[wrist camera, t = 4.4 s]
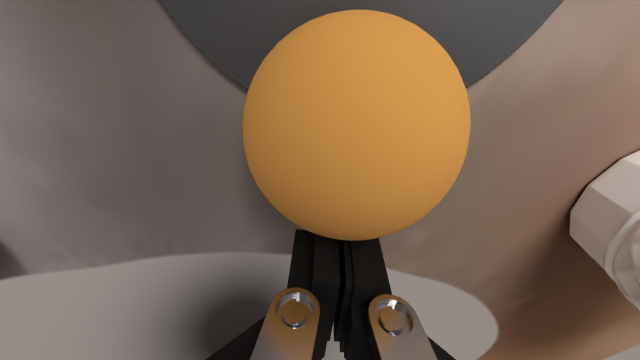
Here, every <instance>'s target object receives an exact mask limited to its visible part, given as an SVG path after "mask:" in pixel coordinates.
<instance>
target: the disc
mask: <svg viewBox="0 0 640 360" xmlns="http://www.w3.org/2000/svg"><path fill="white" fill-rule="evenodd" d="M562 1H563V0H160V2H161V3H162V4H163V6H164V7H165V8H166V10H167V11H168V13H169V14H170V15H171V17H172V18H173V19H174V21H175V22H176V24H177V25H178V26H179V28H180V29H181V30H182V31H183V32H184V33H185V34H186V36H187V37H188V38H189V39H190V40H191V41H192V42H193V43H194V45H195V46H196V47H197V48H198V49H199V50H200V51H201V52H202V53H203V54H204V55H205V56H206V57H207V58H208V59H209V60H210V61H211V62H212V63H214V64H215V65H216V66H217V67H218V68H219V69H220V70H221V71H222V72H223V73H225V74H226V75H227V76H229V77H230V78H232V79H233V80H234V81H236V82H237V83H238V84H240V85H241V86H243V87H244V88H245V89H247V90H249V87H250V85H251V82H252V80H253V78H254V76H255V74H256V72H257V70H258V68H259V67H260V65H261V63H262V62H263V60H264V59H265V57H266V56H267V55H268V54H269V53H270V52H271V50H272V49H273V48H274V47H275V46H276V45H277V43H278V42H280V41H281V40H282V39H283V38H284V37H286V36H287V35H288V34H289V33H290V32H292V31H293V30H295V29H296V28H298V27H300V26H301V25H303V24H305V23H307V22H308V21H310V20H313V19H316V18H318V17H321V16H324V15H326V14H329V13H334V12H340V11H346V10H373V11H380V12H385V13H389V14H392V15H395V16H398V17H400V18H402V19H405V20H407V21H409V22H411V23H413V24H415V25H417V26H418V27H420V28H421V29H422V30H424V31H425V32H426V33H428V34H429V35H430V36H432V37H433V38H434V39H435V40H436V41H437V42H438V43H439V44H440V45H441V46H442V47H443V48H444V50H445V51H446V52H447V53H448V54H449V56H450V57H451V59H452V61H453V62H454V64H455V65H456V67H457V69H458V70H459V73H460V75H461V78H462V80H463V83H464V85H465V88H466V87H467V86H469V85H471V84H472V83H474V82H475V81H477V80H479V79H480V78H482V77H483V76H485V75H486V74H487V73H489V72H490V71H491V70H492V69H494V68H495V67H496V66H498V65H499V64H500V63H501V62H503V61H504V60H505V59H507V58H508V57H509V56H510V55H511V54H512V53H513V52H515V51H516V50H517V49H518V48H519V47H520V46H521V45H522V44H523V43H524V42H525V41H526V40H527V39H528V38H529V37H530V36H532V35H533V34H534V33H535V32H536V31H537V30H538V28H539V27H540V26H541V25H542V24H543V23H544V22H545V21H546V19H547V18H548V17H549V16H550V15H551V14H552V13H553V12H554V11H555V9H556V8H557V7H558V6H559V5H560V4H561V3H562Z"/></svg>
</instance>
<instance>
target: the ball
mask: <svg viewBox="0 0 640 360" xmlns="http://www.w3.org/2000/svg"><path fill="white" fill-rule="evenodd" d="M470 129H471V117H470V106H469V100H468V96H467V91H466V88H465V85H464V83H463V80H462V78H461V75H460V73H459V70H458V69H457V67H456V65H455V64H454V62H453V61H452V59H451V57H450V56H449V54H448V53H447V52H446V51H445V50H444V48H443V47H442V46H441V45H440V44H439V43H438V42H437V41H436V40H435V39H434V38H433V37H432V36H430V35H429V34H428V33H426V32H425V31H424V30H422V29H421V28H420V27H418V26H417V25H415V24H413V23H411V22H409V21H407V20H405V19H402V18H400V17H398V16H395V15H392V14H389V13H385V12H380V11H373V10H346V11H340V12H334V13H329V14H326V15H324V16H321V17H318V18H316V19H313V20H310V21H308V22H307V23H305V24H303V25H301V26H300V27H298V28H296V29H295V30H293V31H292V32H290V33H289V34H288V35H287V36H286V37H284V38H283V39H282V40H281V41H280V42H278V43H277V45H276V46H275V47H274V48H273V49H272V50H271V52H270V53H269V54H268V55H267V56H266V57H265V59H264V60H263V62H262V63H261V65H260V67H259V68H258V70H257V72H256V74H255V76H254V78H253V80H252V82H251V85H250V87H249V90H248V93H247V97H246V101H245V106H244V110H243V121H242V134H243V146H244V150H245V154H246V158H247V162H248V166H249V168H250V170H251V173H252V175H253V177H254V179H255V181H256V183H257V185H258V187H259V188H260V190H261V191H262V193H263V194H264V196H265V197H266V198H267V199H268V201H269V202H270V203H271V204H272V205H273V206H274V207H275V208H276V209H277V210H278V211H279V212H280V213H281V214H283V215H284V216H285V217H286V218H288V219H289V220H290V221H291V222H293V223H295V224H296V225H298V226H300V227H301V228H303V229H305V230H308V231H310V232H312V233H315V234H318V235H321V236H324V237H328V238H333V239H338V240H350V241H354V240H369V239H375V238H379V237H383V236H386V235H390V234H393V233H396V232H398V231H400V230H403V229H405V228H407V227H409V226H410V225H412V224H414V223H415V222H417V221H418V220H420V219H421V218H423V217H424V216H425V215H426V214H428V213H429V212H430V211H431V210H432V209H433V208H434V207H435V206H436V205H437V204H439V203H440V201H441V200H442V199H443V198H444V196H445V195H446V194H447V192H448V191H449V190H450V188H451V187H452V185H453V184H454V182H455V180H456V178H457V176H458V174H459V173H460V170H461V168H462V165H463V163H464V160H465V157H466V153H467V150H468V144H469V137H470Z"/></svg>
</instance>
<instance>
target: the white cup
mask: <svg viewBox="0 0 640 360" xmlns="http://www.w3.org/2000/svg"><path fill="white" fill-rule="evenodd" d="M569 234H570V236H571V237H572V238H573V239H574V240H575V241H576V243H577V244H578V245H579V246H580V247H581V248H582V249H583V250H584V251H585V252H586V253H587V254H588V255H589V256H590V257H591V258H592V259H593V260H594V261H595V262H596V263H597V264H598V265H599V266H600V267H601V268H602V269H603V270H604V271H605V272H606V273H607V274H608V275H609V277H610V278H611V279H612V280H613V281H614V282H615V283H616V285H617V287H618V289H619V291H620V292H621V293H622V294H623V295H624V296H625V297H626V298H627V299H628V300H629V301H630V302H631V303H632V304H633V305H634V306H635V307H637V308H638V309H639V311H640V150H639V151H637V152H634V153H632V154H630V155H628V156H626V157H623V158H622V159H620V160H619V161H618V162H616V163H615V164H614V165H612V166H611V167H610V168H608V169H607V170H606V171H605V172H603V173H602V174H601V175H600V176H598V177H597V178H596V179H595V180H593V181H592V182H591V183H590V184H589V185H588V186H587V187H586V189H585V190H584V192H583V193H582V195H581V196H580V198H579V199H578V201H577V202H576V204H575V205H574V207H573V208H572V210H571V212H570V227H569Z"/></svg>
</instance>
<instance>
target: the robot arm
mask: <svg viewBox="0 0 640 360" xmlns="http://www.w3.org/2000/svg"><path fill="white" fill-rule="evenodd" d="M333 320H334V341H338V342H340V352H344V357H345V359H346V360H456V359H454V358H453V357H452V356H451V355H449V354H448V353H447V352H446V351H445V350H443V349H442V348H441V347H440V346H439V345H437V344H436V343H435V342H434V341H433V340H431V339H430V338H429V337H428V336H427V335H426V333H425V331H424V329H423V327H422V325H421V322H420V320H419V318H418V316H417V314H416V312H415V311H414V309H413V308H412V307H411V306H410V305H409V304H408V303H407V302H406V301H405V300H403V299H402V298H400V297H397V296H394V295H392V293H391V288H390V285H389V280H388V276H387V271H386V267H385V263H384V259H383V255H382V250H381V246H380V242H379V238H375V239H369V240H354V241H350V240H338V239H333V238H328V237H324V236H321V235H318V234H315V233H312V232H310V231H308V230H299V229H296V233H295V239H294V246H293V253H292V260H291V266H290V273H289V279H288V286H287V289H285V290H283V291H281V292H279V293H278V294H277V295H276V296H275V297H274V299H273V301H272V302H271V304H270V307H269V310H268V312H267V315H266V316H265V317H263V318H262V319H261V320H259V321H258V322H257V323H255V324H254V325H253V326H251V327H250V328H248V329H247V330H246V331H244V332H243V333H242V334H240V335H239V336H237V337H236V338H235V339H233V340H232V341H231V342H229V343H228V344H226V345H225V346H224V347H222V348H221V349H220V350H218V351H217V352H215V353H214V354H213V355H211V356H210V357H209V358H207V359H206V360H321V359H322V358H323V357H324V355H325V350H326V344H327V341H330V336H331V331H332V326H333Z"/></svg>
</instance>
